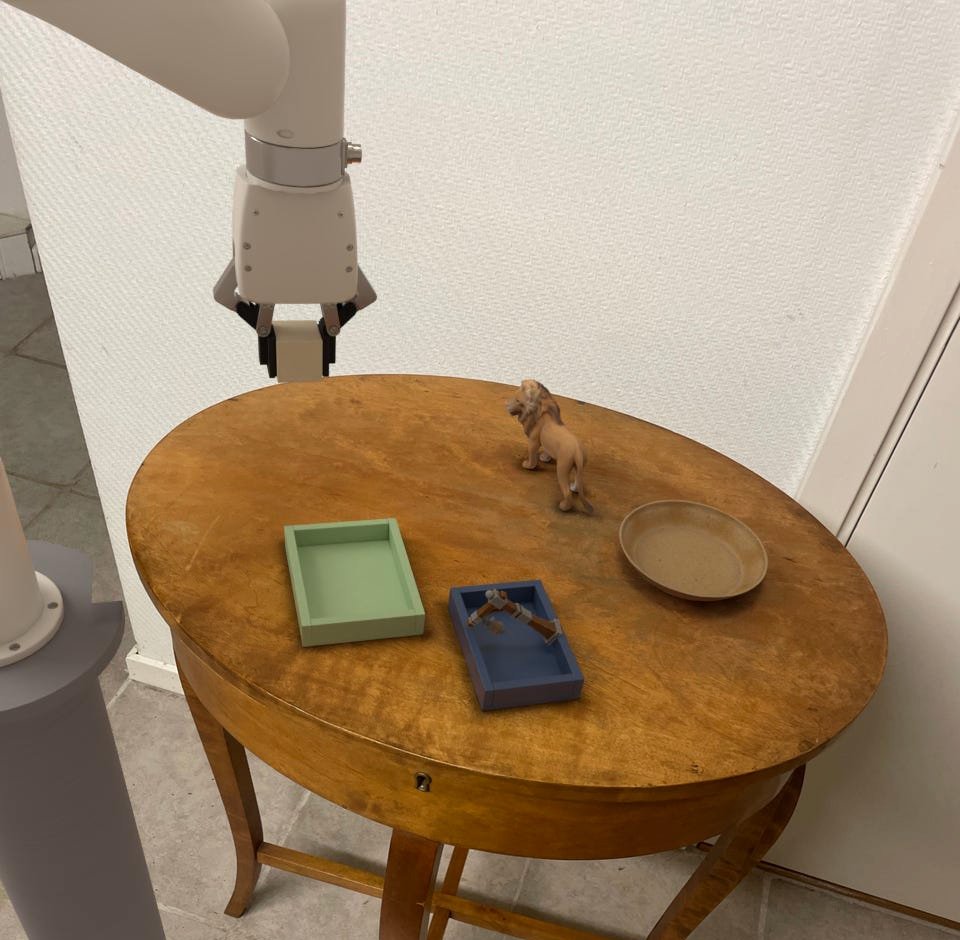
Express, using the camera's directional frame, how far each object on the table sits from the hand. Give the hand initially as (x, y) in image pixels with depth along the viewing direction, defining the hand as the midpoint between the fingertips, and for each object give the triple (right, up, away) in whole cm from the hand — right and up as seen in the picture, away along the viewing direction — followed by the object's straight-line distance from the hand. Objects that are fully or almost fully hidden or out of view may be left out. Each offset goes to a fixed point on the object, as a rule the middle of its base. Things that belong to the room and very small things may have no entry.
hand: (297, 368), depth 87 cm
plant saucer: (+37, -18, +8) cm, 42 cm away
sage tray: (+5, -20, 0) cm, 21 cm away
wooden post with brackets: (+19, -25, -4) cm, 32 cm away
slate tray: (+19, -26, -3) cm, 32 cm away
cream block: (0, 0, 0) cm, 0 cm away
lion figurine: (+24, -7, +16) cm, 30 cm away
